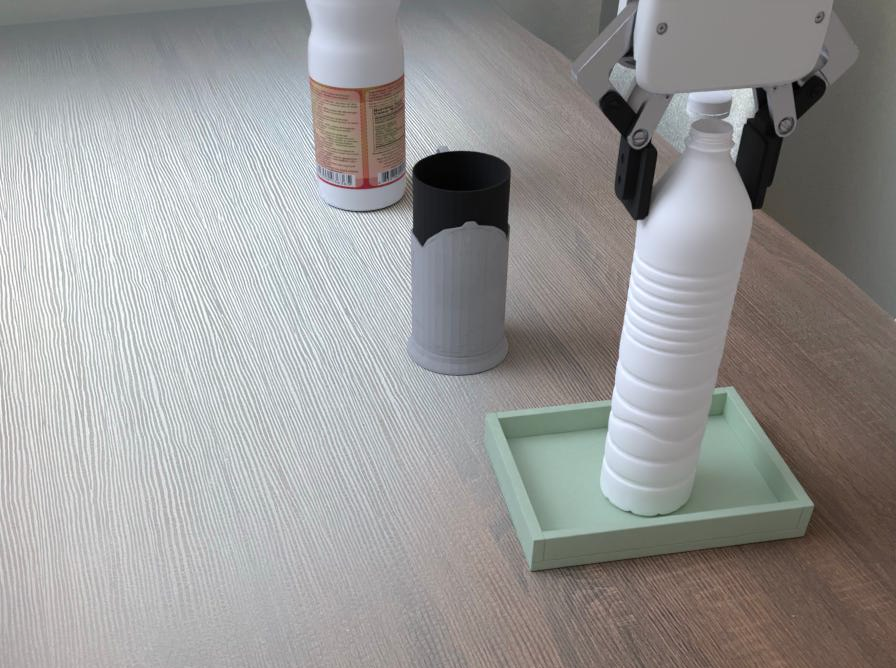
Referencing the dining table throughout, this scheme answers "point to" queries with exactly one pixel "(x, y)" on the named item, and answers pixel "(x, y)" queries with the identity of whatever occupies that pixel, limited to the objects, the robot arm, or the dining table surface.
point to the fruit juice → (357, 102)
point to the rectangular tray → (622, 532)
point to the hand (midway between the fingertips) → (689, 202)
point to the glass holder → (459, 261)
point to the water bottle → (677, 317)
